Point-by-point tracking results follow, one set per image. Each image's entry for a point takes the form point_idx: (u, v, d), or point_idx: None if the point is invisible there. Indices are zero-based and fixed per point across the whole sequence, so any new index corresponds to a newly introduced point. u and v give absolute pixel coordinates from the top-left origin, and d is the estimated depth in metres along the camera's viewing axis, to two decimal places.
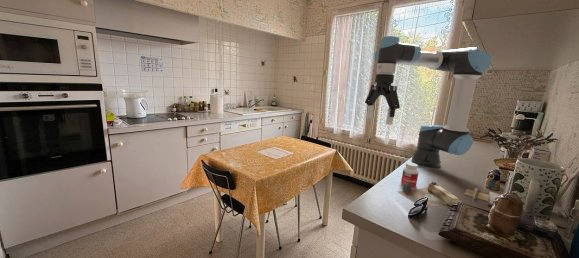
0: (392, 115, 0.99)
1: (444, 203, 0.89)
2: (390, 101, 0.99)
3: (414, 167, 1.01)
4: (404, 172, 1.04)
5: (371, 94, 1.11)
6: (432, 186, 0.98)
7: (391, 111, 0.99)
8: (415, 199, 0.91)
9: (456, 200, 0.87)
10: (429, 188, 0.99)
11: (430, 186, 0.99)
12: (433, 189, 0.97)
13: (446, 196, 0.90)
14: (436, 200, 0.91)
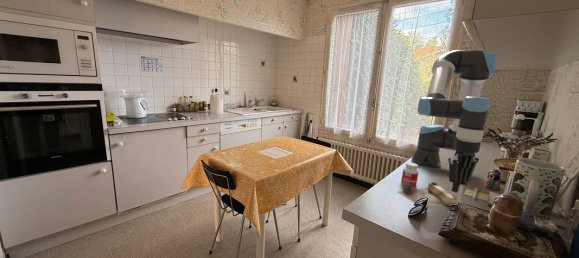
0: (452, 189, 0.88)
1: (444, 203, 0.89)
2: None
3: (414, 167, 1.01)
4: (404, 172, 1.04)
5: None
6: (432, 186, 0.98)
7: None
8: (415, 199, 0.91)
9: (454, 200, 0.87)
10: (429, 188, 0.99)
11: (430, 186, 0.99)
12: (433, 189, 0.97)
13: (444, 195, 0.90)
14: (436, 200, 0.91)
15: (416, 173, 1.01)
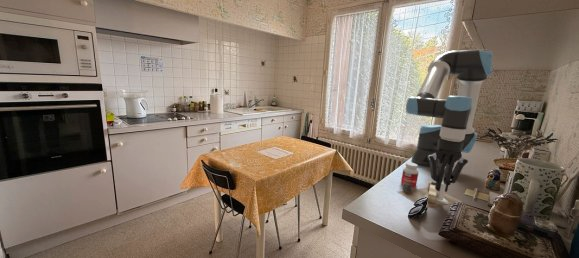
0: (435, 187, 0.90)
1: (444, 203, 0.89)
2: (438, 172, 0.89)
3: (414, 167, 1.01)
4: (404, 172, 1.04)
5: (455, 168, 0.87)
6: (429, 185, 0.99)
7: None
8: (415, 199, 0.91)
9: (432, 197, 0.89)
10: (428, 187, 1.00)
11: (428, 185, 1.00)
12: (429, 188, 0.98)
13: None
14: (436, 200, 0.91)
15: (416, 173, 1.01)
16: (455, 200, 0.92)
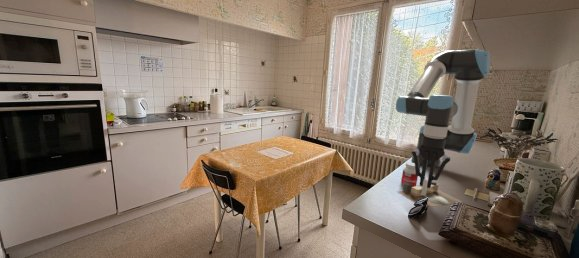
0: (420, 182, 0.93)
1: (444, 203, 0.89)
2: None
3: (414, 167, 1.01)
4: (404, 172, 1.04)
5: (440, 166, 0.88)
6: None
7: None
8: (415, 199, 0.91)
9: (414, 190, 0.93)
10: None
11: None
12: None
13: None
14: (436, 200, 0.91)
15: None
16: (455, 200, 0.92)
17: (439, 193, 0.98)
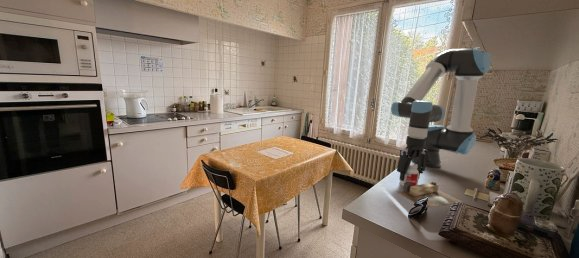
0: (400, 178, 1.04)
1: (444, 203, 0.89)
2: None
3: (414, 167, 1.01)
4: None
5: (420, 159, 1.05)
6: None
7: None
8: (415, 199, 0.91)
9: (413, 190, 0.94)
10: None
11: None
12: None
13: None
14: (436, 200, 0.91)
15: (416, 173, 1.01)
16: (455, 200, 0.92)
17: (439, 193, 0.98)
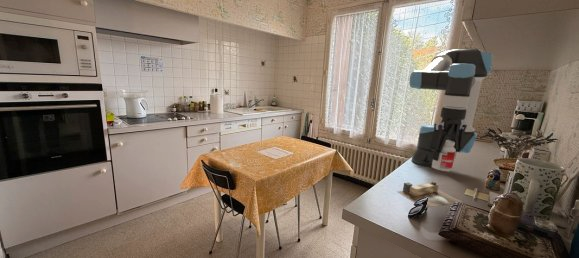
0: (433, 157, 0.88)
1: (444, 203, 0.89)
2: None
3: (451, 144, 0.86)
4: None
5: None
6: None
7: None
8: (415, 199, 0.91)
9: (413, 190, 0.94)
10: None
11: None
12: None
13: None
14: (436, 200, 0.91)
15: (453, 151, 0.86)
16: (455, 200, 0.92)
17: (439, 193, 0.98)
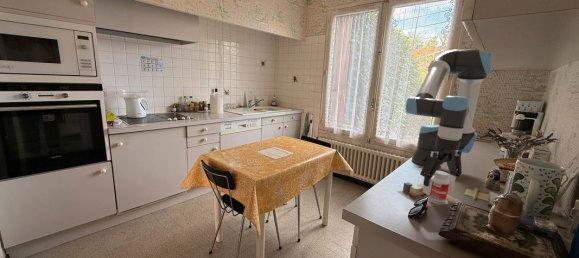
0: (424, 183, 0.89)
1: (444, 203, 0.89)
2: None
3: (445, 176, 0.88)
4: (433, 182, 0.91)
5: (454, 161, 0.92)
6: None
7: None
8: (415, 199, 0.91)
9: (413, 190, 0.94)
10: None
11: None
12: None
13: None
14: None
15: (447, 183, 0.88)
16: (455, 200, 0.92)
17: None
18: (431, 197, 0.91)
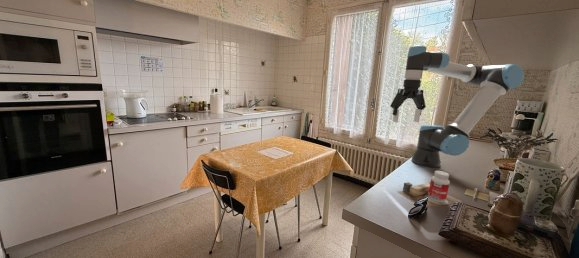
0: (393, 113, 1.16)
1: (444, 203, 0.89)
2: None
3: (445, 177, 0.88)
4: (433, 182, 0.90)
5: (419, 99, 1.19)
6: None
7: None
8: (415, 199, 0.91)
9: (413, 190, 0.94)
10: None
11: None
12: None
13: None
14: None
15: (447, 183, 0.88)
16: (455, 200, 0.92)
17: None
18: (431, 197, 0.91)
